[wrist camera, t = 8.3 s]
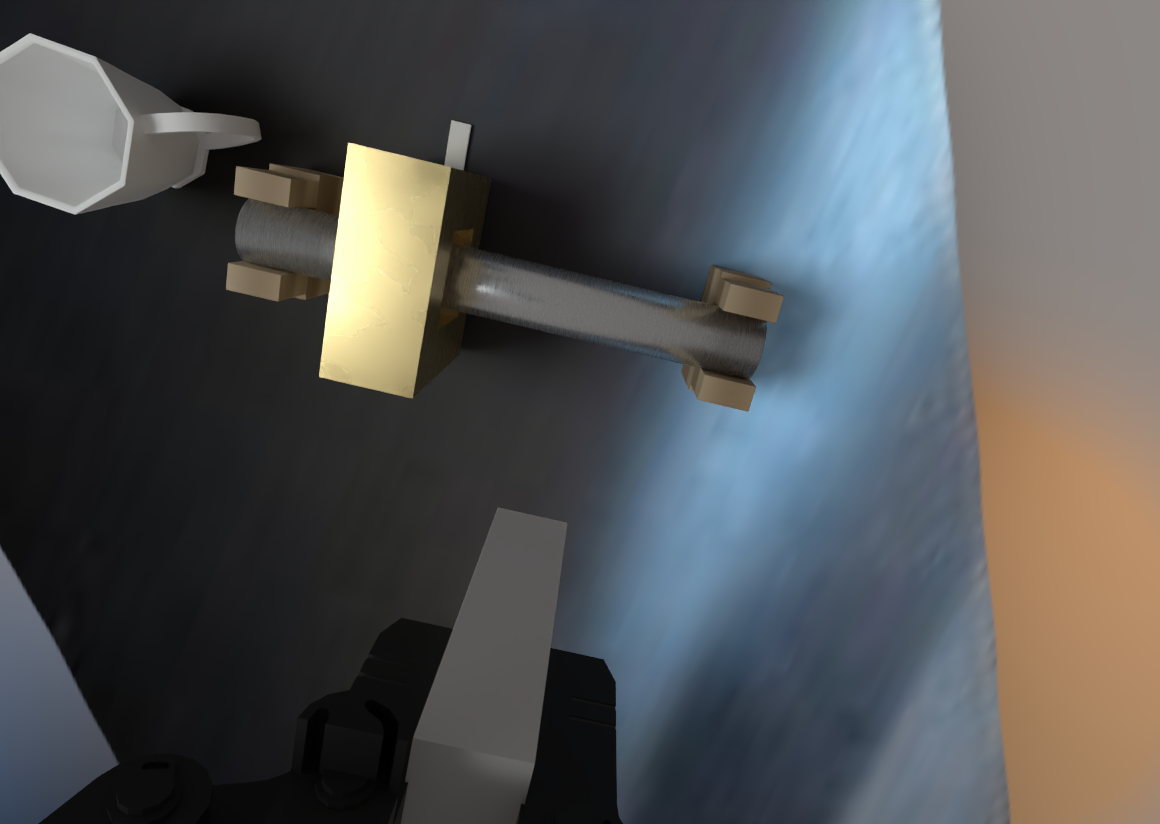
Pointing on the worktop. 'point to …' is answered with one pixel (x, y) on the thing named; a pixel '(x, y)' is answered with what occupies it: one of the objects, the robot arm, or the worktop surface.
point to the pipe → (529, 294)
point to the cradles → (276, 284)
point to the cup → (98, 130)
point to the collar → (397, 270)
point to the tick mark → (457, 145)
